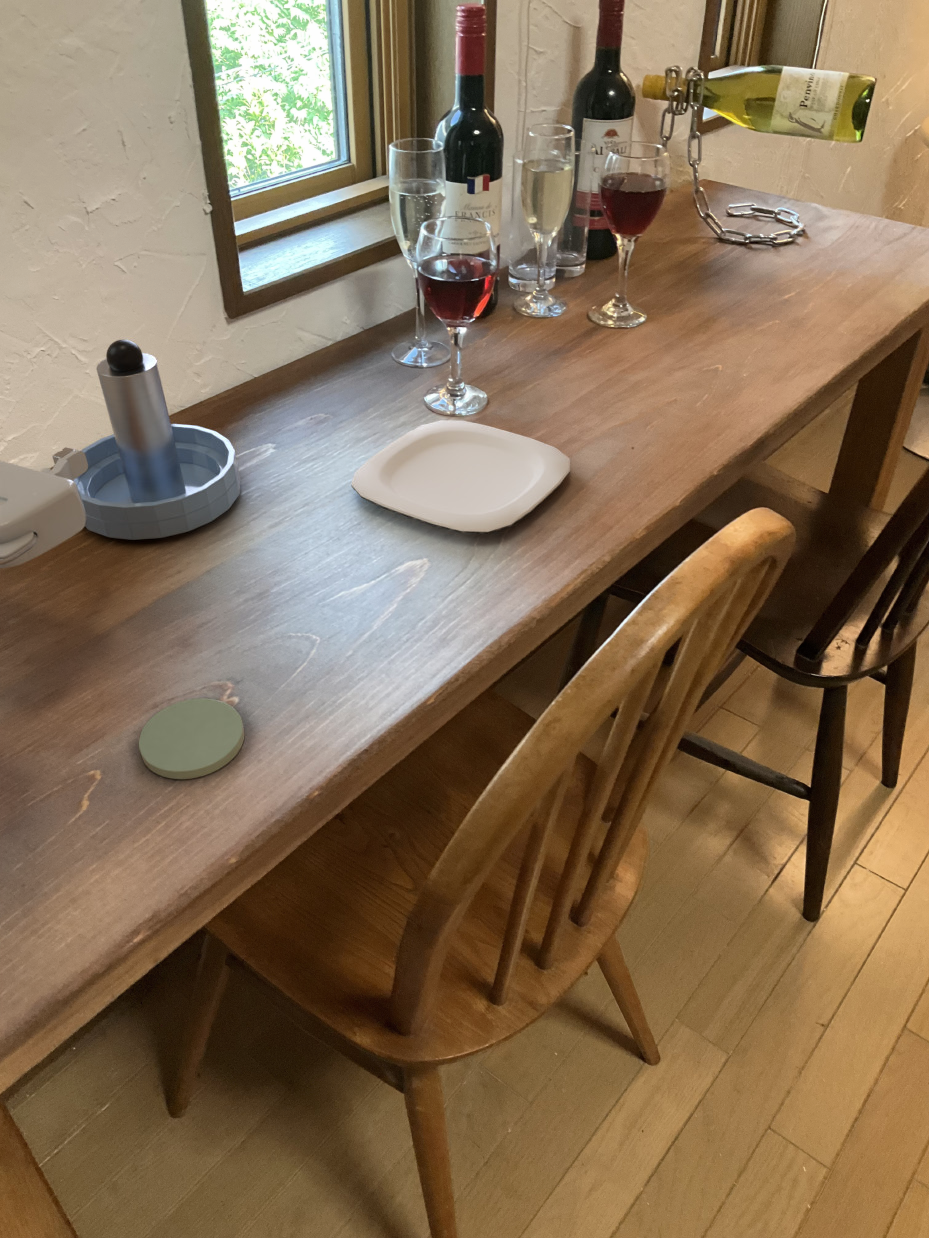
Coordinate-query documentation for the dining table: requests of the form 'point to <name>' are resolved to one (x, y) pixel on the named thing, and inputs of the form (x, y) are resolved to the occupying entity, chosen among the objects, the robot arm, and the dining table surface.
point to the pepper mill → (140, 423)
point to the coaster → (191, 738)
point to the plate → (462, 476)
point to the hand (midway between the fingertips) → (33, 445)
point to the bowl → (205, 499)
